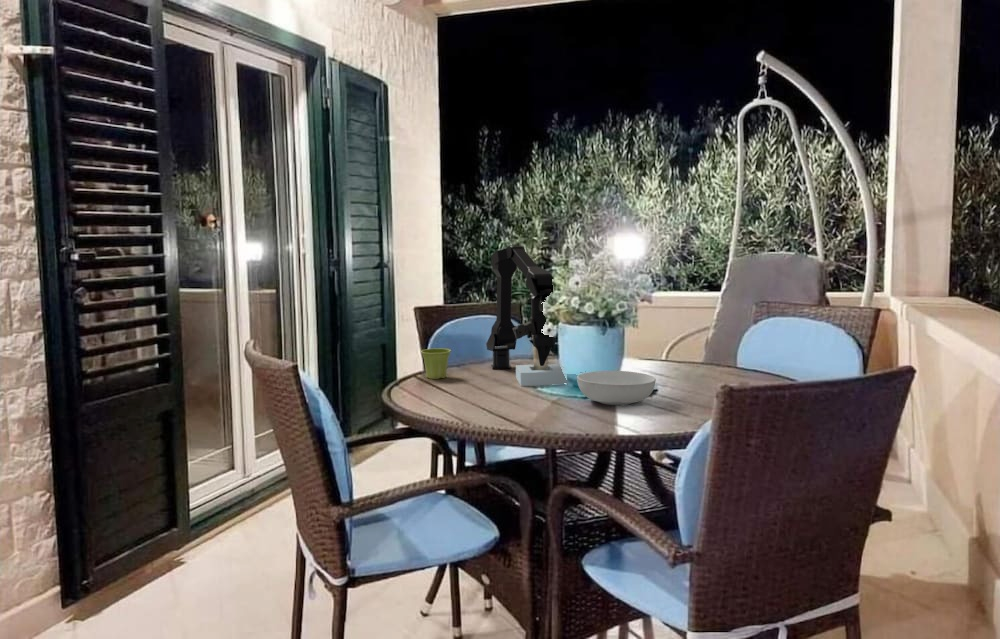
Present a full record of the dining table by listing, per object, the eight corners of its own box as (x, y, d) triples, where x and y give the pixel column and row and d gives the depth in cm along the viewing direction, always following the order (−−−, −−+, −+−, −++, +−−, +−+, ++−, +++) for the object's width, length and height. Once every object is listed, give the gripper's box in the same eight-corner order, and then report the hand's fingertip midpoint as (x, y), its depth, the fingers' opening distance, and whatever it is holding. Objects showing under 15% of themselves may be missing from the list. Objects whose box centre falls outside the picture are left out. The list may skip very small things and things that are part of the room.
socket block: (515, 377, 251) (515, 365, 251) (559, 376, 252) (559, 364, 252) (520, 386, 237) (520, 372, 237) (567, 384, 239) (567, 371, 238)
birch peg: (532, 370, 247) (532, 345, 246) (546, 370, 247) (546, 344, 246) (534, 373, 242) (534, 347, 241) (548, 372, 243) (548, 346, 242)
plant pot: (447, 380, 248) (446, 353, 247) (418, 379, 249) (417, 352, 248) (454, 375, 257) (453, 348, 256) (426, 374, 259) (425, 348, 258)
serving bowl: (637, 413, 200) (637, 387, 200) (563, 405, 211) (563, 379, 211) (666, 398, 218) (667, 374, 217) (597, 391, 229) (597, 367, 228)
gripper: (511, 311, 251) (511, 360, 253) (517, 317, 233) (518, 370, 234) (546, 310, 252) (546, 359, 254) (555, 317, 234) (555, 369, 235)
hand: (540, 364), depth 244 cm, fingers closed on birch peg, 4 cm apart
